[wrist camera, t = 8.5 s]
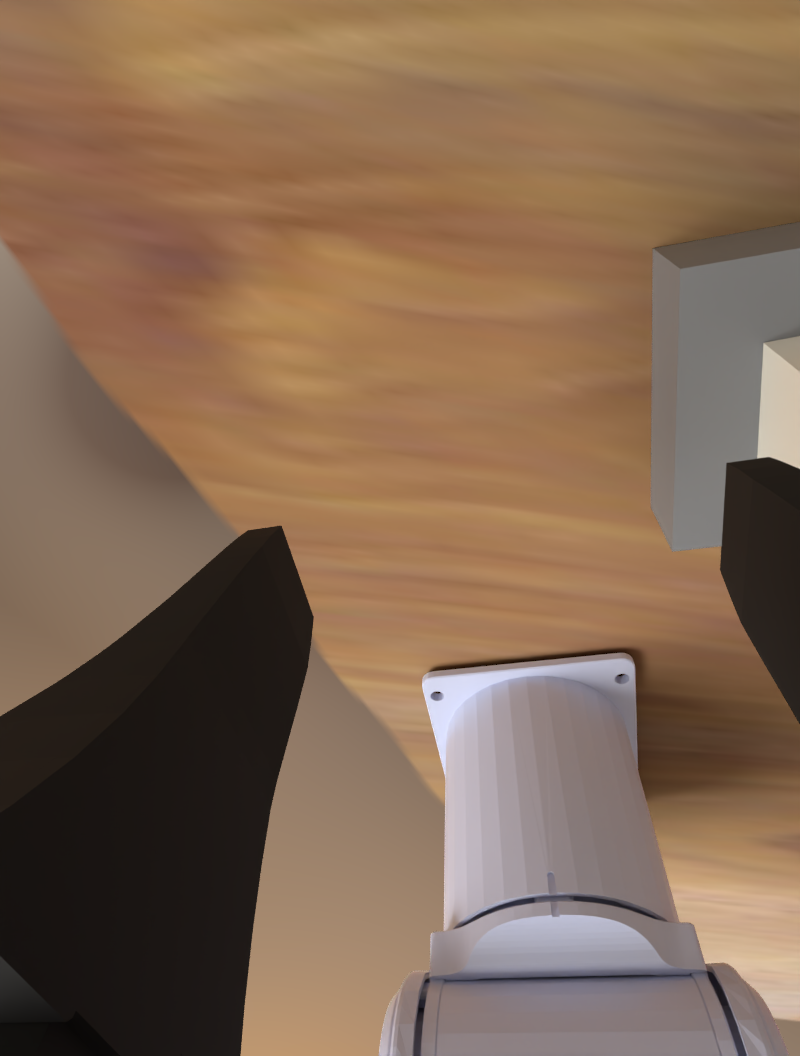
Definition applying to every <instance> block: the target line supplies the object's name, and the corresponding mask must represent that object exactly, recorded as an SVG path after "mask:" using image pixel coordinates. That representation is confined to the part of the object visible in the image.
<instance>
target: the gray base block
mask: <svg viewBox="0 0 800 1056" xmlns="http://www.w3.org/2000/svg"><path fill="white" fill-rule="evenodd" d="M797 336H800V222H796V223H790V224H785V225H779V226H774V227H768V228H763V229H757V230H752V231H746V232H740V233H735V234H729V235H724V236H718V237H713V238H707V239H702V240H696V241H691V242H685V243H680V244H674V245H669V246H663V247H657V248H653V285H652V411H651V508H652V511H653V513H654V515H655V517H656V519H657V521H658V523H659V525H660V527H661V529H662V531H663V533H664V535H665V537H666V539H667V542H668V544H669V546H670V548H671V550H672V552H673V551H682V550H691V549H700V548H709V547H718V546H722V531H723V514H724V497H725V480H726V463H729V462H736V461H743V460H751V459H757V453H758V435H759V416H760V398H761V380H762V361H763V343H765V342H771V341H776V340H781V339H786V338H792V337H797Z"/></svg>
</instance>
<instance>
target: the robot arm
mask: <svg viewBox="0 0 800 1056" xmlns="http://www.w3.org/2000/svg"><path fill="white" fill-rule="evenodd" d="M720 571H721V573H722V576H723V579H724V581H725V584H726V587H727V589H728V592H729V594H730V597H731V600H732V602H733V604H734V607H735V609H736V612H737V614H738V616H739V619H740V621H741V623H742V625H743V627H744V629H745V631H746V632H747V634H748V636H749V638H750V639H751V641H752V643H753V645H754V646H755V648H756V650H757V652H758V653H759V655H760V657H761V659H762V660H763V662H764V664H765V665H766V667H767V669H768V671H769V672H770V674H771V676H772V677H773V679H774V681H775V683H776V684H777V686H778V688H779V689H780V691H781V693H782V694H783V696H784V698H785V700H786V701H787V703H788V705H789V706H790V708H791V710H792V712H793V713H794V715H795V717H796V718H797V720H798V722H799V723H800V469H799V468H796V467H794V466H792V465H789V464H787V463H785V462H782V461H779V460H777V459H774V458H771V457H765V458H758V459H751V460H743V461H736V462H729V463H726V480H725V497H724V514H723V531H722V548H721V565H720ZM313 618H314V617H313V614H312V611H311V609H310V606H309V603H308V600H307V597H306V594H305V591H304V589H303V586H302V583H301V580H300V577H299V574H298V571H297V569H296V566H295V563H294V560H293V557H292V554H291V551H290V549H289V546H288V543H287V540H286V537H285V534H284V531H283V529H282V526H276V527H269V528H262V529H255V530H248V531H247V532H245V533H244V534H242V535H241V536H240V537H238V538H237V539H236V540H235V541H233V542H232V543H231V544H230V545H229V546H228V547H226V548H225V549H224V550H223V551H222V552H221V553H219V554H218V555H217V556H216V557H215V558H214V559H213V560H211V561H210V562H209V563H208V564H207V565H206V566H205V567H204V568H202V569H201V570H200V571H199V572H198V573H197V574H196V575H195V576H193V577H192V578H191V579H190V580H189V581H188V582H187V583H186V584H184V585H183V586H182V587H181V588H180V589H179V590H178V591H176V592H175V593H174V594H173V595H172V596H171V597H170V598H169V599H167V600H166V601H165V602H164V603H162V604H161V605H160V606H159V607H158V608H156V609H155V610H154V611H153V612H151V613H150V614H149V615H148V616H146V617H145V618H144V619H143V620H142V621H140V622H139V623H138V624H137V625H136V626H134V627H133V628H132V629H131V630H129V631H128V632H127V633H126V634H124V635H123V636H122V637H121V638H119V639H118V640H117V641H115V642H114V643H113V644H111V645H110V646H109V647H107V648H106V649H105V650H103V651H102V652H101V653H99V654H98V655H96V656H95V657H94V658H92V659H91V660H89V661H88V662H86V663H85V664H83V665H82V666H80V667H79V668H78V669H76V670H75V671H73V672H72V673H70V674H69V675H67V676H66V677H64V678H63V679H61V680H60V681H58V682H57V683H55V684H53V685H52V686H50V687H49V688H47V689H45V690H43V691H42V692H40V693H38V694H37V695H35V696H34V697H32V698H30V699H28V700H27V701H25V702H23V703H22V704H20V705H18V706H17V707H15V708H14V709H12V710H10V711H8V712H7V713H5V714H3V715H2V716H0V1056H240V1054H241V1042H242V1029H243V1017H244V1005H245V996H246V987H247V977H248V967H249V959H250V950H251V941H252V932H253V923H254V916H255V909H256V902H257V894H258V887H259V880H260V872H261V865H262V859H263V853H264V846H265V840H266V834H267V828H268V822H269V815H270V809H271V805H272V800H273V796H274V791H275V787H276V782H277V779H278V775H279V772H280V768H281V764H282V760H283V757H284V753H285V750H286V746H287V742H288V739H289V735H290V732H291V728H292V724H293V721H294V717H295V713H296V710H297V706H298V702H299V699H300V695H301V691H302V687H303V683H304V680H305V676H306V672H307V668H308V661H309V653H310V646H311V637H312V628H313ZM619 674H625V675H623V676H617V675H619ZM422 688H423V692H424V696H425V700H426V704H427V708H428V712H429V715H430V719H431V723H432V727H433V731H434V735H435V739H436V743H437V746H438V750H439V754H440V758H441V762H442V766H443V770H444V773H445V777H446V788H445V874H444V876H445V877H444V931H437V932H433V933H432V934H431V944H430V971H412V972H410V973H409V974H408V975H407V976H406V978H405V979H404V981H403V983H402V986H401V988H400V989H399V990H398V991H397V993H396V994H395V995H394V997H393V998H392V1000H391V1002H390V1004H389V1007H388V1009H387V1012H386V1016H385V1020H384V1024H383V1029H382V1035H381V1042H380V1049H379V1056H789V1054H788V1051H787V1049H786V1046H785V1043H784V1041H783V1039H782V1036H781V1034H780V1031H779V1029H778V1027H777V1025H776V1023H775V1020H774V1018H773V1016H772V1014H771V1012H770V1010H769V1009H768V1007H767V1005H766V1003H765V1002H764V1000H763V999H762V997H761V996H760V995H759V993H758V992H757V991H756V990H755V989H754V988H752V987H751V986H750V985H749V984H748V983H747V982H746V981H744V980H743V979H742V978H741V976H740V975H739V974H738V973H737V971H736V970H735V969H734V968H733V967H731V966H730V965H728V964H726V963H712V964H705V962H704V958H703V955H702V951H701V948H700V944H699V941H698V938H697V934H696V931H695V927H694V925H693V924H691V923H680V922H679V919H678V915H677V911H676V908H675V904H674V901H673V897H672V893H671V890H670V886H669V882H668V879H667V875H666V871H665V868H664V864H663V860H662V857H661V853H660V849H659V846H658V842H657V838H656V835H655V831H654V827H653V824H652V820H651V816H650V813H649V809H648V805H647V802H646V798H645V794H644V791H643V787H642V783H641V780H640V776H639V772H638V752H637V713H636V674H635V664H634V661H633V658H632V657H631V656H630V655H629V654H626V653H612V654H602V655H592V656H582V657H572V658H562V659H552V660H542V661H532V662H522V663H511V664H501V665H491V666H481V667H471V668H461V669H451V670H441V671H432V672H428V673H427V674H425V675H424V677H423V681H422ZM436 691H437V692H441V693H434V692H436Z"/></svg>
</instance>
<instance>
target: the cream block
mask: <svg viewBox="0 0 800 1056" xmlns="http://www.w3.org/2000/svg"><path fill="white" fill-rule="evenodd" d="M765 457H771V458H774V459H777V460H779V461H782V462H785V463H787V464H789V465H792V466H794V467H796V468H799V469H800V336H797V337H792V338H786V339H781V340H776V341H771V342H765V343H763V361H762V380H761V398H760V416H759V435H758V453H757V459H758V458H765Z"/></svg>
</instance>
